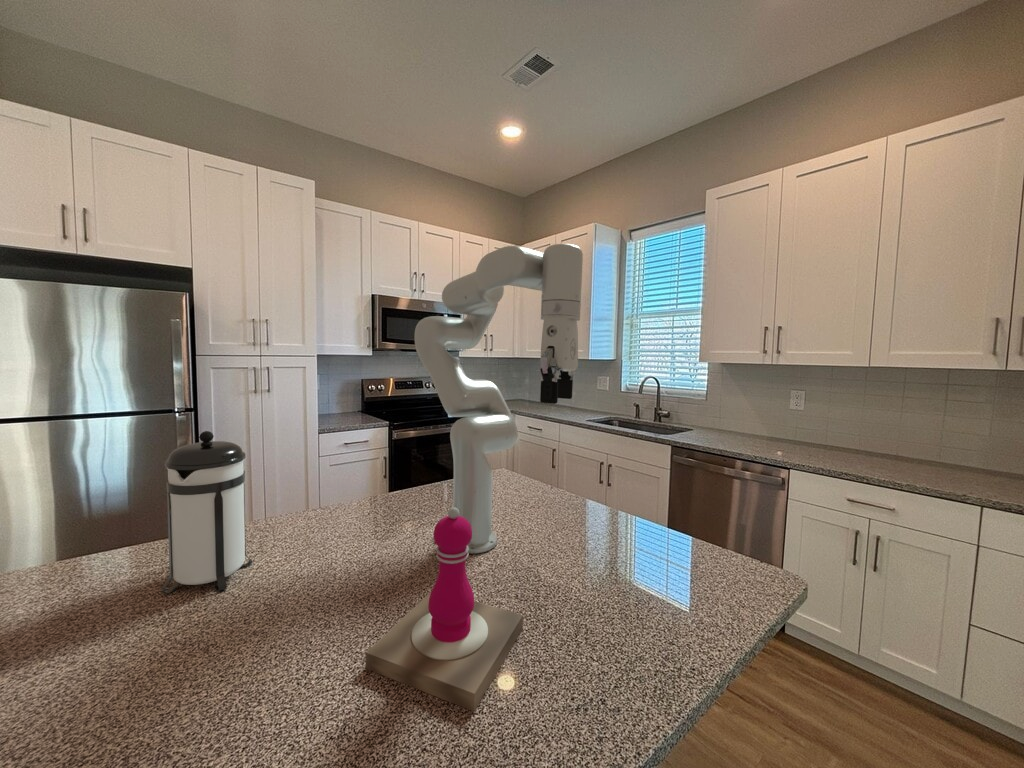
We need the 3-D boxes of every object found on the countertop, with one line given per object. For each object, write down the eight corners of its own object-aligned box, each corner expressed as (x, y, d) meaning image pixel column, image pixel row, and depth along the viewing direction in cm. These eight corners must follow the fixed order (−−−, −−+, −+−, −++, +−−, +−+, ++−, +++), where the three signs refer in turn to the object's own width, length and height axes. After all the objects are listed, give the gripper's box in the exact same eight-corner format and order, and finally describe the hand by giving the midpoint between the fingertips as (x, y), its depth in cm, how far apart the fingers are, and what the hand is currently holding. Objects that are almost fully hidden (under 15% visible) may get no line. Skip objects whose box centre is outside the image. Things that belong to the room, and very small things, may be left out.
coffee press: (269, 576, 85) (267, 431, 83) (168, 610, 73) (163, 442, 71) (244, 547, 97) (242, 420, 94) (154, 572, 85) (149, 428, 83)
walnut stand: (365, 668, 61) (365, 650, 61) (433, 602, 78) (433, 588, 78) (474, 711, 55) (474, 691, 54) (522, 629, 71) (523, 613, 71)
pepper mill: (442, 611, 71) (444, 496, 69) (480, 621, 68) (484, 503, 67) (419, 637, 64) (421, 512, 63) (461, 650, 62) (464, 519, 60)
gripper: (566, 306, 70) (562, 407, 72) (590, 316, 86) (586, 398, 87) (525, 307, 73) (522, 403, 75) (555, 316, 89) (552, 395, 90)
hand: (556, 400), depth 81 cm, fingers open, 9 cm apart
